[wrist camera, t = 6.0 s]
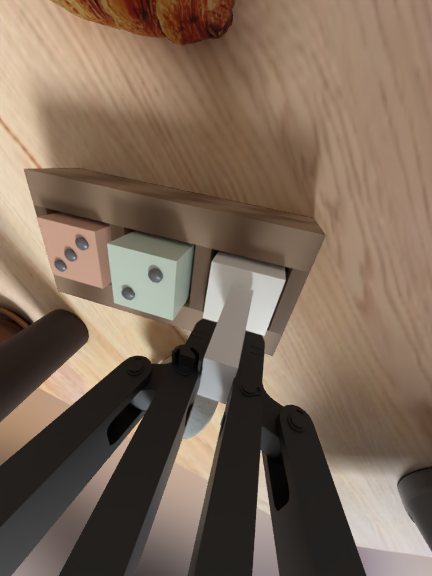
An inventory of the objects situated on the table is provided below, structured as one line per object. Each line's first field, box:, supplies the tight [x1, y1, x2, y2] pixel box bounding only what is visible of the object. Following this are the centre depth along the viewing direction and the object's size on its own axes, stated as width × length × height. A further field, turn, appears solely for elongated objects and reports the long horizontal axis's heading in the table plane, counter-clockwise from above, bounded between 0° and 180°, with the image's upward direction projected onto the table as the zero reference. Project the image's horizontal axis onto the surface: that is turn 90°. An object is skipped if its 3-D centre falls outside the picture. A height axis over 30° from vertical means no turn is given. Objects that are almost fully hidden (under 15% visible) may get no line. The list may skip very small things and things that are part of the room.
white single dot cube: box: [203, 251, 286, 336], centre depth 17 cm, size 5×5×4 cm
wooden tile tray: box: [24, 168, 325, 356], centre depth 20 cm, size 22×11×5 cm, turn 81°
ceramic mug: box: [161, 356, 218, 439], centre depth 29 cm, size 10×8×7 cm
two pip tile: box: [107, 230, 195, 321], centre depth 17 cm, size 5×5×4 cm
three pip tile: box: [37, 212, 112, 289], centre depth 19 cm, size 5×5×4 cm
